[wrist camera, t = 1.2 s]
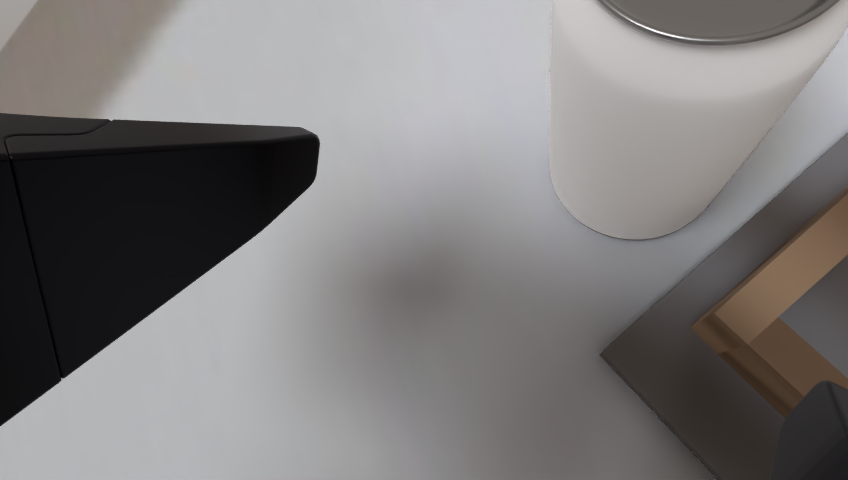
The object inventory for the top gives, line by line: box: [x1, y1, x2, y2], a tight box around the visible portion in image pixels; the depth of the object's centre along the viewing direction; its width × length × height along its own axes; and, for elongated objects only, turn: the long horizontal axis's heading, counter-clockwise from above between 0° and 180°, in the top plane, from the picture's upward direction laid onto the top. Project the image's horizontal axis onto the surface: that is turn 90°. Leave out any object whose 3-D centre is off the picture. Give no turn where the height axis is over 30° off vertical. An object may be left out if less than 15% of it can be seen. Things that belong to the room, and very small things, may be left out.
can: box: [549, 0, 848, 239], centre depth 17 cm, size 6×6×12 cm
